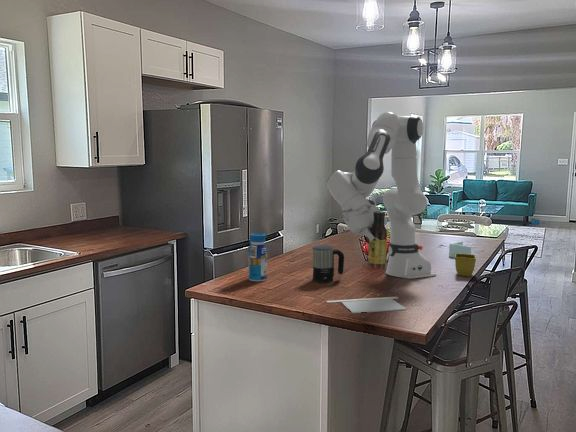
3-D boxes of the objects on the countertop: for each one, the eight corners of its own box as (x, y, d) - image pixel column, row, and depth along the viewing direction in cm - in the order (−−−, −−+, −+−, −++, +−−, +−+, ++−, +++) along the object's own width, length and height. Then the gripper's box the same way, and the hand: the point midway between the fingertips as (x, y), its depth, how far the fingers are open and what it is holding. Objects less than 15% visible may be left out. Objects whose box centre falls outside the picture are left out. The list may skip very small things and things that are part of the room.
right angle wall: (469, 261, 257) (470, 247, 256) (448, 257, 266) (449, 243, 265) (481, 258, 265) (481, 244, 264) (460, 254, 274) (461, 241, 273)
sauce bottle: (366, 264, 180) (367, 210, 178) (382, 264, 181) (384, 210, 179) (370, 268, 174) (372, 212, 172) (388, 268, 175) (390, 212, 172)
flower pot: (474, 273, 228) (475, 254, 227) (475, 278, 220) (476, 258, 219) (454, 272, 231) (455, 253, 230) (454, 276, 223) (455, 256, 222)
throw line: (396, 297, 190) (396, 296, 190) (398, 298, 189) (398, 297, 189) (326, 301, 184) (326, 300, 184) (327, 303, 183) (327, 302, 183)
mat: (392, 299, 187) (392, 298, 187) (406, 309, 175) (406, 308, 175) (341, 303, 183) (341, 302, 183) (352, 313, 171) (352, 312, 171)
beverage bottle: (245, 278, 218) (245, 233, 216) (263, 276, 222) (263, 232, 219) (251, 282, 211) (251, 236, 208) (270, 280, 214) (270, 235, 211)
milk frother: (318, 284, 209) (319, 249, 207) (300, 275, 223) (301, 243, 221) (347, 280, 215) (347, 246, 214) (328, 272, 229) (328, 241, 228)
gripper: (345, 205, 171) (368, 236, 166) (376, 200, 187) (399, 229, 181) (334, 216, 175) (357, 247, 170) (366, 211, 190) (388, 239, 185)
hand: (379, 238), depth 176 cm, fingers closed on sauce bottle, 6 cm apart
